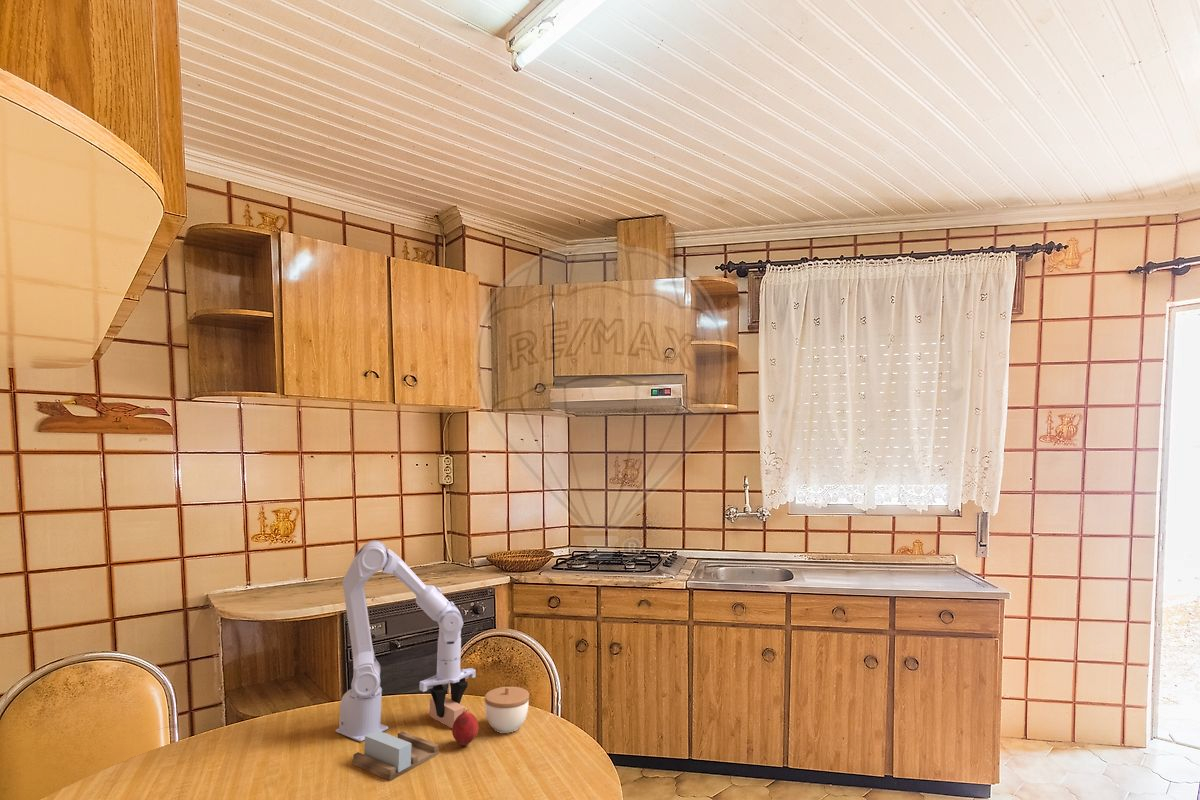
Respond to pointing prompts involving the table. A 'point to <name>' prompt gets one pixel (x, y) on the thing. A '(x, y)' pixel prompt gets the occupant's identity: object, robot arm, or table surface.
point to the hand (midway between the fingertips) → (447, 713)
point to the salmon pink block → (447, 711)
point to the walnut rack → (419, 755)
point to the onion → (465, 728)
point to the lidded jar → (506, 708)
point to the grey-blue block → (388, 750)
